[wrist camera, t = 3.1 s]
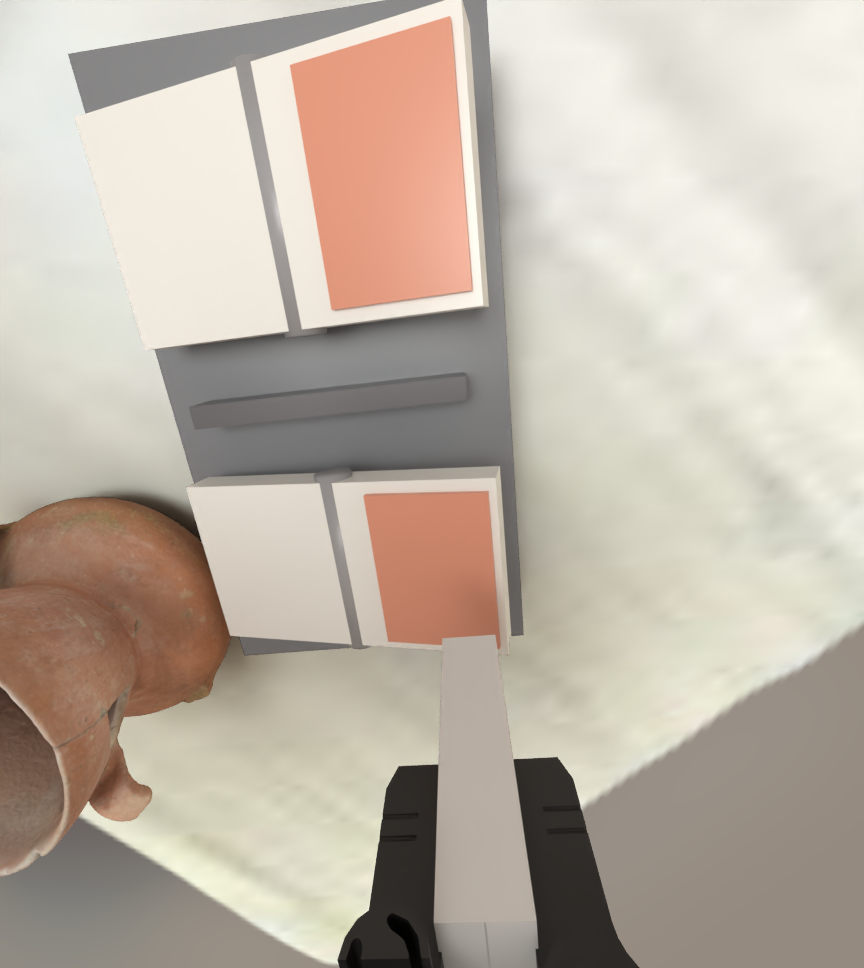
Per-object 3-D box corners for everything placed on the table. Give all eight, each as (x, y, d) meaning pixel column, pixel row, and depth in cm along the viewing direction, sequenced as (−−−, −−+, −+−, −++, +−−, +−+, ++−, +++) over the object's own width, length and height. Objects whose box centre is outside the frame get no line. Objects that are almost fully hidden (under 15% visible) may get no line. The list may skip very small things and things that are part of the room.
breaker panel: (275, 605, 31) (228, 680, 24) (149, 113, 22) (21, 20, 16) (511, 586, 30) (529, 659, 23) (477, 61, 21) (490, -63, 14)
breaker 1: (174, 352, 20) (140, 355, 18) (111, 127, 17) (65, 107, 16) (489, 312, 16) (482, 312, 15) (469, 20, 14) (458, -21, 12)
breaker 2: (249, 620, 25) (227, 642, 23) (208, 472, 22) (180, 485, 20) (511, 636, 21) (508, 663, 19) (499, 461, 18) (494, 474, 17)
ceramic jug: (307, 613, 31) (197, 822, 18) (169, 716, 34) (-14, 961, 21) (101, 408, 27) (-241, 472, 14) (-32, 544, 30) (-419, 705, 17)
